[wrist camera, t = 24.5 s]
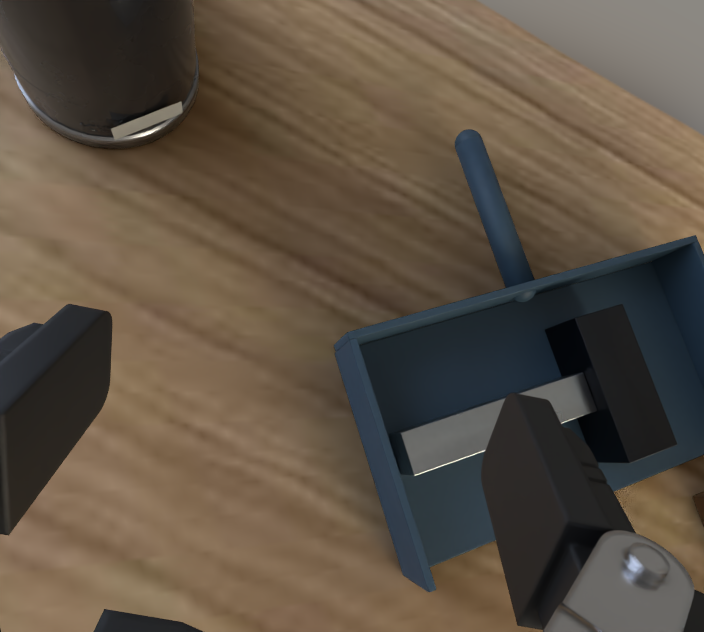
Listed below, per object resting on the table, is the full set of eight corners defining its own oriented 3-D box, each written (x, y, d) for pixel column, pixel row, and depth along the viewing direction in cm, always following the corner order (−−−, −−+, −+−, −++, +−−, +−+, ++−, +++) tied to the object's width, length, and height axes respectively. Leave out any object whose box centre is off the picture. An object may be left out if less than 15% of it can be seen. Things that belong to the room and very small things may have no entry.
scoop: (725, 443, 36) (783, 442, 32) (403, 575, 30) (428, 593, 26) (594, 121, 39) (633, 86, 36) (281, 183, 33) (289, 149, 30)
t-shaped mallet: (418, 530, 30) (440, 538, 27) (371, 381, 32) (387, 374, 29) (637, 445, 34) (678, 444, 31) (588, 316, 35) (623, 303, 32)
